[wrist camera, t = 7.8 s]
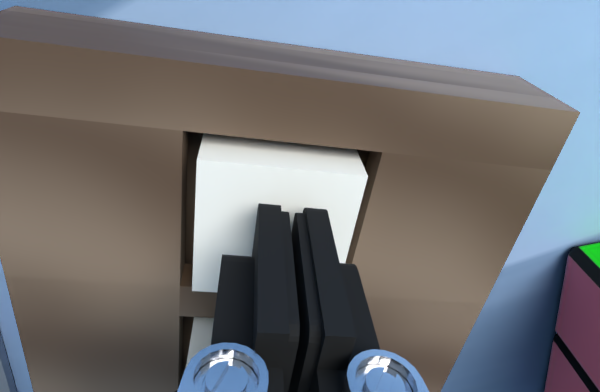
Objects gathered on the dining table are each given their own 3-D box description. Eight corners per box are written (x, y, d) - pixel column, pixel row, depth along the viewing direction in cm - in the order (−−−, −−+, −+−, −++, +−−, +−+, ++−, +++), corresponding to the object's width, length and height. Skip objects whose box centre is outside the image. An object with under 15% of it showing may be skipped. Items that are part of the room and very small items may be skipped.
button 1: (323, 239, 15) (335, 299, 13) (202, 230, 14) (192, 290, 12) (347, 129, 13) (368, 176, 11) (208, 114, 12) (197, 159, 10)
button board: (366, 448, 23) (380, 512, 21) (88, 447, 21) (64, 517, 19) (518, 76, 13) (580, 112, 11) (15, 6, 11) (-57, 29, 9)
